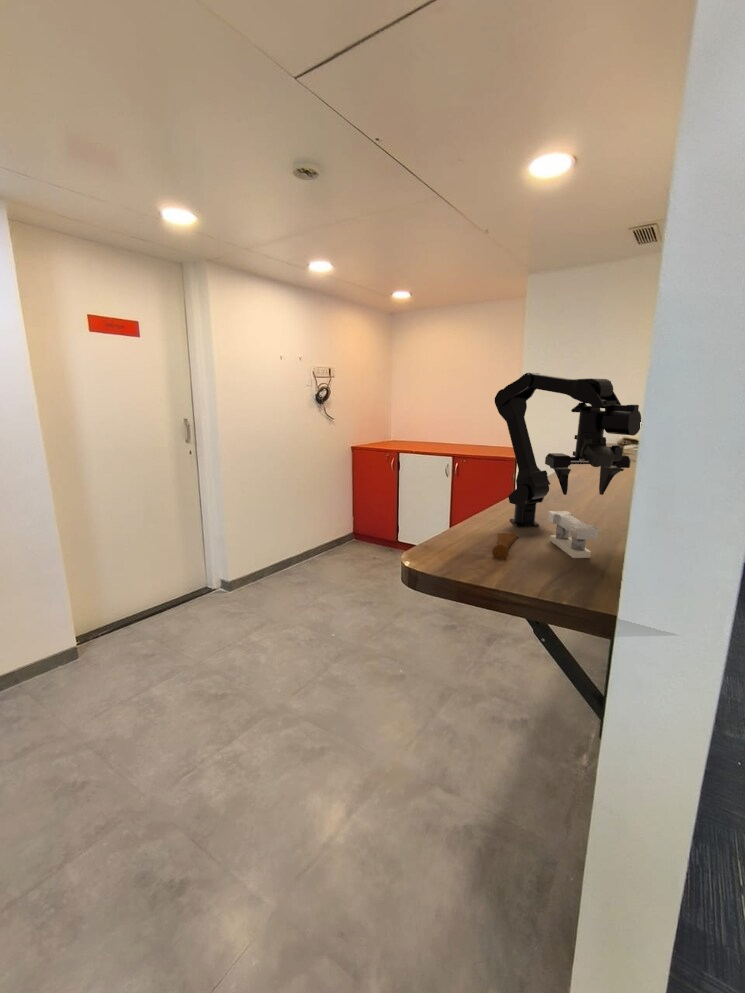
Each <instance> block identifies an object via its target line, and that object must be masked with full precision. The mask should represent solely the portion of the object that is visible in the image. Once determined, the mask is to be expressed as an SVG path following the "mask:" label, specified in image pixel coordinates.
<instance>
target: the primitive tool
mask: <svg viewBox="0 0 745 993" xmlns="http://www.w3.org/2000/svg"><path fill="white" fill-rule="evenodd" d="M517 539H519V535H518V534H517V533H511V532H510V533H505V532H499V533H497V541H496V545H495V546H494V547H493V548H492V556H493V558H495V557H497V558H496V559H501V558H505V559H506V558H508V556H509V548H510V547H511V545H513V544H514V543H515V541H516V540H517Z"/></svg>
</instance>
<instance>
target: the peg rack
mask: <svg viewBox="0 0 745 993" xmlns="http://www.w3.org/2000/svg"><path fill="white" fill-rule="evenodd" d="M555 531H556V532H555V534H553V535H550V538H549V540H550V542H551V543H552V544H554V545H555V546H557V548H559V549H560V550H562V551H563V552H564V553H565V554H566V555H569V556H570V557H571V558H573V559H586V558H587V559H590V558H591V553H592V551H591V550H589V549H588V548H586V545H587V539H575V538H574V537H572V536H570V532H569V531H567V530H566V529H564V528H563V527H561V526H560V525H558V524H556V530H555Z"/></svg>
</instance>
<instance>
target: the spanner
mask: <svg viewBox="0 0 745 993" xmlns="http://www.w3.org/2000/svg"><path fill="white" fill-rule="evenodd" d="M547 514H548V515H547V521H548V522H550V523H551V524H553V525H555V524H556V525H557V524H558V525H560V526H561V527H563V528H564V529H566V530H567V531H569V536H570V537H571V538H572V537H574V538H575V539H586V540H598V538H599V537H598V536H599V530H600V528H599V527H596V526H595V525H593V524H587V523H585V522H583V521H581V520H580V519H578V518H576V517H575V516H574V514H573V513H571V512H569V511H568V510H548V513H547Z"/></svg>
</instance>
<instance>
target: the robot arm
mask: <svg viewBox="0 0 745 993" xmlns="http://www.w3.org/2000/svg"><path fill="white" fill-rule="evenodd" d="M536 390H540V391H547V392H551V393H556V394H557V393H558V394H562V395H567V396H568V397H571V398H572V399H573V400H575V401H578V402H579V403H578V404H576V406H574V407H573V408H572V409H571V410H570V411H571V413H579V416H578V425H577V434H574V438H573V439H574V440H576V443H575V444H576V445H575V450H573V451H572V456H570V455H569V454H565V453H562V452H561V453H555V452H554V453H550V452H549V453H548V454H547V455H546V456H545V458H544V459H545V461H544V464H545V465H546V466H549V468H550V469H553V470H554V472H555V474H556V477H557V479H558V481H559V482H558V483H559V484H560V488H561V491H562V494H563V495H564V496H567V493H568V488H569V475H570V473H571V471H572V469H571V468H569V467H570V466H571V465H590V466H591V467H594V468H599V467H600V470H599V483H598V484H599V485H598V489H599V493H598V494H599V495H600V496H603V495H604V494H605V492H606V490H607V489H608V487H609V485H610V483H611V481H612V480H613V479H614V477H615V476H616V475H617V474H618V473H620V472H623V471H624V470H625V469H629V468H630V467H631V458H630V456H628V455H626V454H623V453H624V452H623V451H624V450H623V449H624V447H623V446H622V445H614V444H613V445H610V446H608V445H607V437H606V436H604V432H606V433H607V434H610V435H621V436H632V437H633V436H636V435H637V434H639V432H640V429H641V428H640V422H641V419H642V414H641V412H640V410H639V407H640V405H639V404H627V405H626V404H622V403H621V402H620V400H619V399H618V397H617V395H616V393H615V391H614V386H613V384H612V381H610V380H609V379H607V378H574V379H573V378H566V377H560V376H553V375H548V374H540V373H538V372H526V373H524V374H522V375H521V376H520V377H519V378H518V379H516V380H515V381H513V382H511V383H509V384H508V385H506V386H505V387H504V388H502V389H500V390H498V391H497V393H496V395H495V397H494V404H495V408H496V409H497V412H498V414H499V415H500V416H501V417H502V418H503V420H504V421H505V422H506V425H507V430H508V433H509V437H510V441H511V445H512V449H513V453H514V457H515V461H516V465H517V469H518V472H517V476H516V480H515V485H516V488H515V490H513V491H512V492H511V493H510V494H509V495H508V497H507V498H508V502H509V504H510V505H511V504H512V505H514V512H513V513H514V515H513V518H509V521H510V522H511V523H512V524H514V526H516V527H519V528H521V527H525V528H526V527H540V523H537V521H536V514H537V513H536V512H537V504H538V503H543V501H544V499H545V497H546V496H548V493H549V492H550V485H551V482H550V480H549V476H548V472H547V470H541V469H540V467H538V465H537V462H536V458H535V455H534V450H533V446H532V442H531V439H530V434H529V430H528V427H527V424H526V423H527V422H526V419H525V416H526V415H525V414H526V412H527V408H528V407H527V401H528V400H529V399H530V398H532V397H533V395H534V393H535V392H536ZM587 404H589V405H587ZM602 409H604V410H602Z"/></svg>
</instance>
